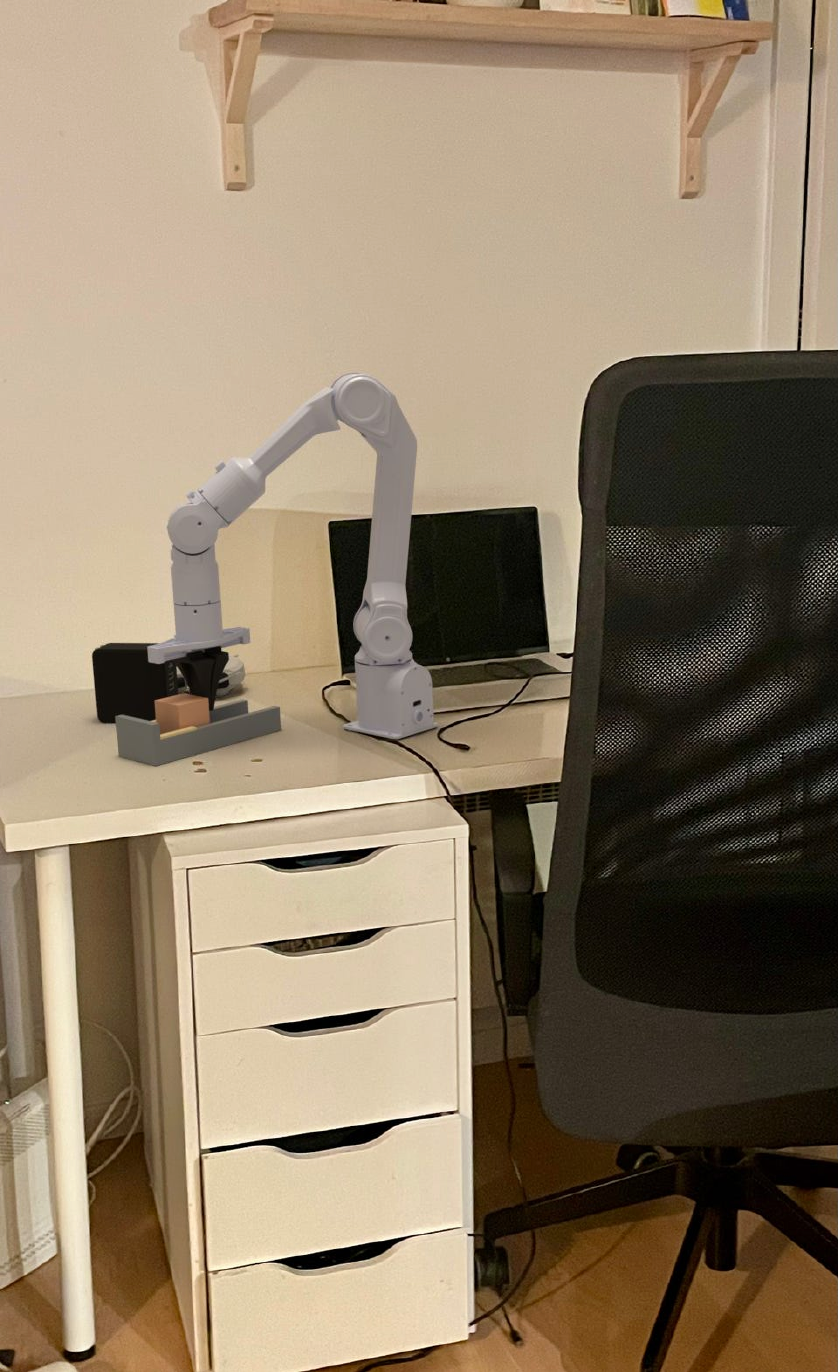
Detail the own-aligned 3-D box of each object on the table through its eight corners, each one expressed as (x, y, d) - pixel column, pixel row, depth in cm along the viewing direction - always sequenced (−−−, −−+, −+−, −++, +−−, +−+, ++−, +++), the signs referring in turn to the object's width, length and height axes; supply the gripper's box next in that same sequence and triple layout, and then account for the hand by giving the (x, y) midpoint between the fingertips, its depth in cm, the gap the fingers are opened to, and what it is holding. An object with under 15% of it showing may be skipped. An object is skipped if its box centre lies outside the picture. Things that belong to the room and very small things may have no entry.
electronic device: (169, 724, 197) (163, 649, 195) (97, 723, 199) (90, 649, 197) (180, 716, 201) (175, 643, 199) (110, 715, 203) (103, 642, 201)
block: (187, 732, 189) (184, 693, 188) (210, 737, 186) (208, 698, 184) (157, 740, 185) (154, 700, 184) (181, 746, 182) (178, 705, 181)
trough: (243, 721, 197) (241, 684, 196) (281, 729, 192) (279, 691, 191) (118, 756, 183) (115, 716, 182) (155, 766, 178) (152, 725, 177)
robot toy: (139, 714, 207) (248, 698, 209) (134, 682, 206) (244, 666, 208) (142, 693, 219) (245, 679, 221) (137, 663, 218) (241, 649, 220)
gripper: (221, 590, 192) (228, 694, 195) (128, 607, 182) (137, 717, 185) (258, 595, 187) (265, 701, 190) (165, 613, 177) (173, 725, 180)
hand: (204, 710), depth 187 cm, fingers closed
